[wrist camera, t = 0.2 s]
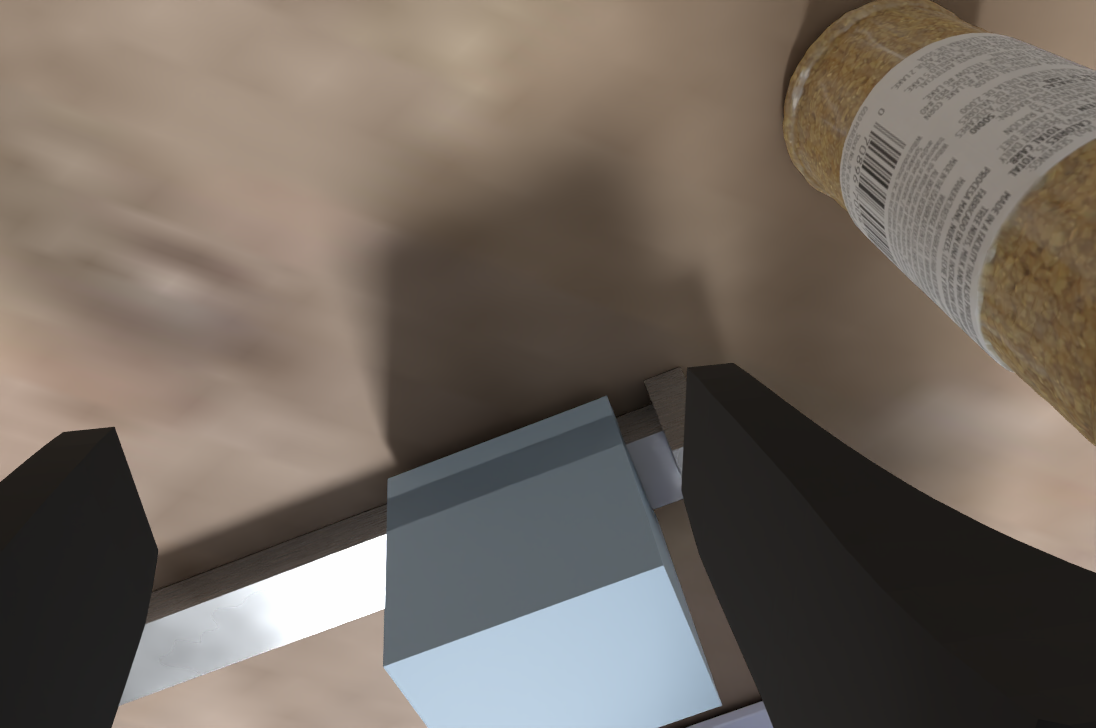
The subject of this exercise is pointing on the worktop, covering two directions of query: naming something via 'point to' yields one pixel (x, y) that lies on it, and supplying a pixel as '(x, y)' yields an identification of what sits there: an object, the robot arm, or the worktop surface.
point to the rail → (340, 570)
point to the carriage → (538, 587)
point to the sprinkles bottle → (965, 179)
